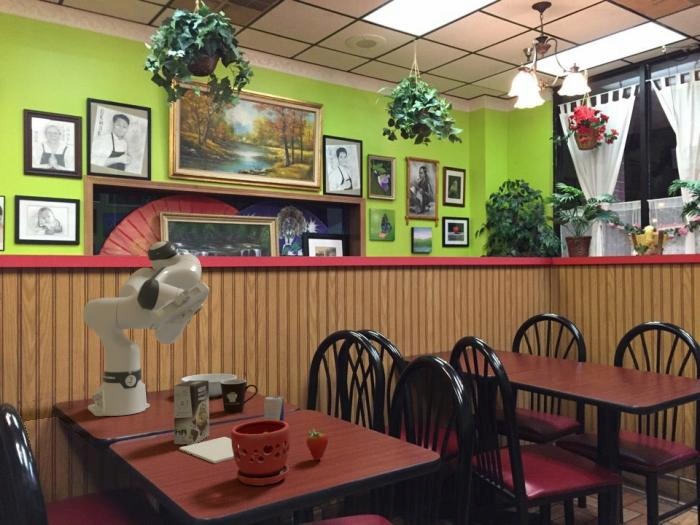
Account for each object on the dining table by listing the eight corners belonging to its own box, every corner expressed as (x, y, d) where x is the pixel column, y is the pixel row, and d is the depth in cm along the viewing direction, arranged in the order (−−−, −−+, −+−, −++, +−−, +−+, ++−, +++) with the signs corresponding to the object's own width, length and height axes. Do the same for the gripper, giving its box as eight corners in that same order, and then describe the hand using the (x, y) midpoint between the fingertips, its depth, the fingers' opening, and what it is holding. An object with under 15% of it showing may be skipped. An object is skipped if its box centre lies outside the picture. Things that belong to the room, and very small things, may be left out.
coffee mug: (215, 413, 200) (215, 383, 201) (230, 407, 208) (229, 378, 209) (245, 415, 196) (245, 385, 196) (259, 409, 204) (258, 380, 204)
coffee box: (194, 445, 163) (194, 385, 163) (173, 444, 164) (172, 385, 164) (210, 436, 171) (209, 379, 172) (189, 435, 173) (189, 379, 173)
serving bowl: (247, 391, 236) (247, 374, 237) (214, 402, 217) (214, 383, 217) (204, 388, 245) (204, 371, 245) (169, 398, 226) (169, 380, 226)
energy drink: (287, 439, 167) (286, 396, 167) (279, 444, 162) (278, 400, 162) (270, 437, 169) (269, 395, 169) (261, 443, 164) (260, 399, 164)
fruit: (304, 457, 150) (304, 425, 150) (325, 455, 152) (325, 423, 152) (309, 463, 145) (308, 430, 146) (330, 461, 147) (330, 428, 147)
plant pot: (268, 465, 144) (267, 415, 145) (302, 479, 135) (301, 425, 135) (220, 479, 135) (219, 426, 136) (253, 494, 126) (252, 437, 126)
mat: (179, 449, 159) (179, 447, 159) (224, 438, 169) (224, 436, 169) (214, 463, 147) (214, 461, 147) (261, 450, 157) (261, 448, 157)
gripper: (141, 324, 180) (150, 302, 170) (193, 291, 194) (204, 269, 184) (155, 339, 180) (164, 318, 169) (206, 305, 193) (217, 283, 183)
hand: (185, 292), depth 177 cm, fingers closed
